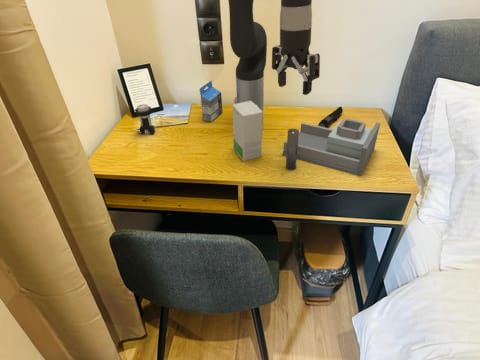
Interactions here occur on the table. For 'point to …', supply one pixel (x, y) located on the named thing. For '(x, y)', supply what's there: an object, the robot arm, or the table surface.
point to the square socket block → (348, 138)
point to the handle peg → (292, 149)
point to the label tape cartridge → (210, 102)
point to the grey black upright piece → (145, 119)
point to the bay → (314, 151)
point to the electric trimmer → (331, 118)
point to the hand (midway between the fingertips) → (294, 89)
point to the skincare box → (247, 130)
